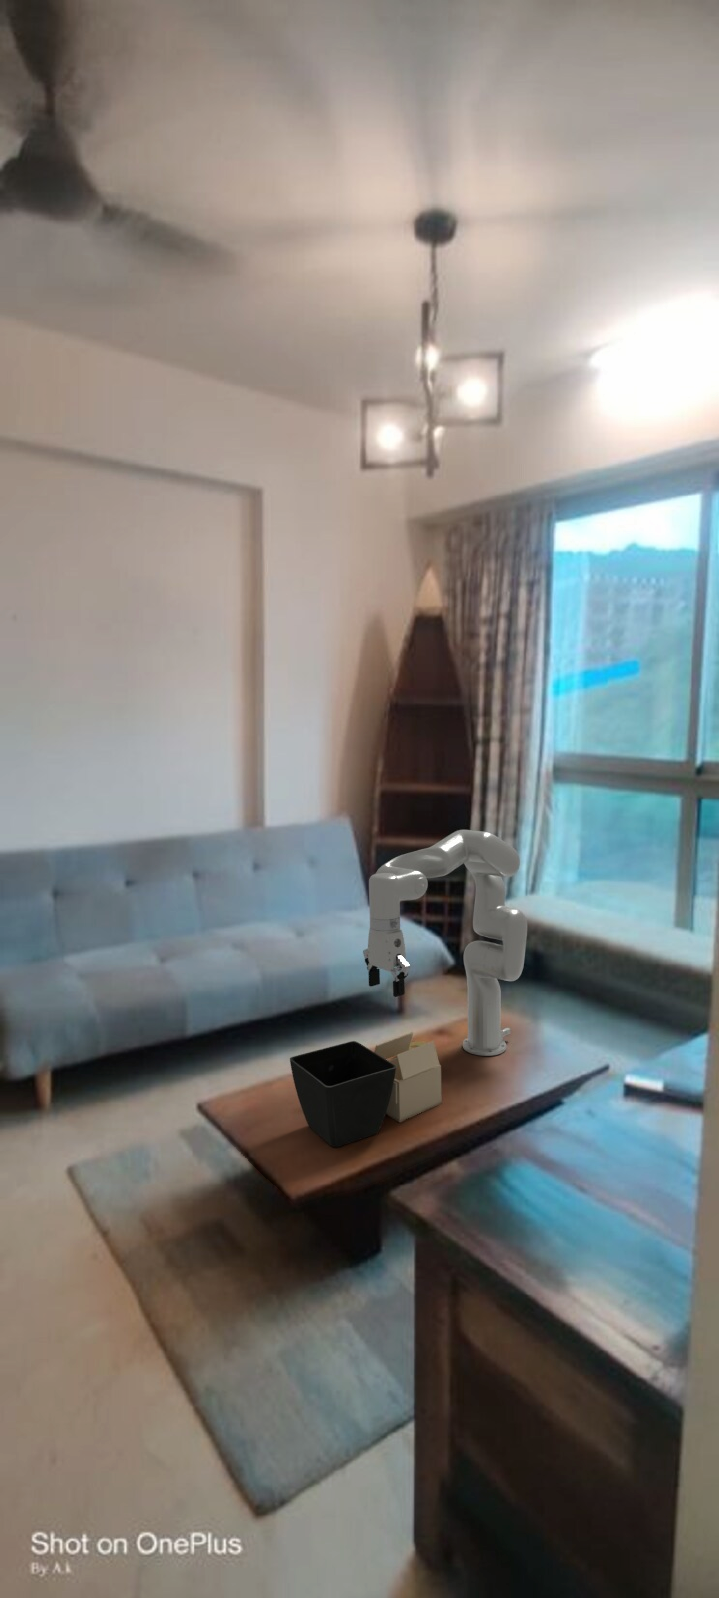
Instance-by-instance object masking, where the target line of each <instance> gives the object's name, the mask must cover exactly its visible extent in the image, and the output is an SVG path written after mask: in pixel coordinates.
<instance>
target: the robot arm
mask: <svg viewBox="0 0 719 1598" xmlns="http://www.w3.org/2000/svg"><path fill="white" fill-rule="evenodd" d="M462 865H464V866H465V869H467V871H469V873H470V874H471V876H472V878H473V881H474V884H475V895H474V897H475V898H474V907H473V914H472V928H473V931H474V933H476V934H477V935H479V936H482V937H485V938H489V939H495V940H499V941H502V944H498V943H495V942H491V941H485V940H474V941H471V942H469V943H468V944H467V945H466V946H465V948H464V952H463V965H464V970H465V975H466V982H467V986H466V987H467V1038H465V1039H464V1040H462V1048H463V1049H464V1051H465V1052H468V1053H469V1054H472V1055H476V1056H483V1057H490V1056H497V1055H501V1054H503V1053H504V1052H506V1050H507V1043H506V1041H505V1040H504V1039H503V1038H504V1037H505V1036H507V1035H510V1034H511V1033H512V1030H511V1028H510V1027H505V1028H503V1029H502V1028H501V1027H502V1025H501V1024H502V1023H501V1021H502V1020H501V1019H502V1018H501V1017H502V1014H501V1013H502V1012H501V1008H502V1006H501V1003H502V1001H501V999H502V998H501V995H502V992H501V986H500V982H499V981H498V980H502V981H507V982H514V981H516V980H518V979H519V978H520V977H521V975H522V972H523V969H524V964H525V958H526V957H525V956H526V946H527V939H528V938H527V937H528V921H527V917H526V915H525V914H524V912H522V911H521V910H520V909H517V908H514V907H508V906H506V905H505V901H506V885H505V882H504V880H503V878H511V877H513V876H514V875H515V874H517V873H518V870H519V869H520V866H521V859H520V855H519V853H518V851H517V849H515V848H514V847H513V846H511V845H510V844H508V842H505V841H504V840H503V839H501V838H500V837H498V836H497V835H495V834H493V833H492V832H491V833H490V832H488V831H481V830H470V829H459V830H458V829H457V830H456V831H454V832H452V833H450V834H449V835H447V836H445V837H444V838H443V839H441V840H439V841H438V842H436V843H434V845H431V846H430V847H426V848H422V849H418V850H415V851H411V852H408V853H405V854H401V855H398V856H396V857H394V858H392V859H391V860H389V861H387V862H385V863H384V864H382V865H381V866H380V867H379V868H378V869H377V871H376V872H375V873H374V874H372V875H371V876H370V877H369V880H368V895H369V900H368V902H369V929H368V938H367V948H366V949H363V950H362V954H363V957H364V962H365V964H366V970H367V971H368V972H367V973H368V986H369V987H374V986H378V985H380V984H381V977H380V976H381V975H380V974H381V972H380V971H381V970H383V971H386V972H389V973H391V975H392V978H393V979H394V980H393V981H392V996H393V997H394V998H397V997H401V996H404V995H405V993H406V992H405V990H406V989H405V988H406V987H405V980H406V979H407V976H408V975H409V973H410V970H411V965H410V964H409V962H408V961H407V956H406V955H407V954H406V946H405V945H406V944H405V937H404V933H403V930H402V929H401V902H403V901H414V900H417V899H420V898H422V897H423V896H425V894H426V891H427V889H428V879H431V878H432V879H433V878H439V877H445V876H446V875H448V874H450V873H452V872H453V871H454V870H455V869H457V868H459V867H460V866H462ZM380 969H381V970H380ZM397 972H398V973H397Z"/></svg>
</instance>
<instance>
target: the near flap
mask: <svg viewBox="0 0 719 1598" xmlns="http://www.w3.org/2000/svg"><path fill="white" fill-rule="evenodd" d="M426 1043H427V1044H424V1045H421V1046H419V1047H416V1048H413V1049H411V1050H408V1051H406V1052H403V1053H400V1054H398V1055H396V1056H395V1057H397V1061H398V1065H399V1069H400V1073H401V1077H402V1080H403V1079H406V1078H408V1077H411V1076H413V1075H415V1074H418V1073H420V1072H423V1071H425V1070H428V1069H430V1068H432V1067H435V1066H437V1065H441V1064H440V1061H439V1057H438V1052H437V1049H436V1045H435V1041H434V1040H431V1041H429V1042H426Z"/></svg>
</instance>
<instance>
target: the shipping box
mask: <svg viewBox="0 0 719 1598" xmlns="http://www.w3.org/2000/svg"><path fill="white" fill-rule="evenodd" d="M388 1061H389V1062H391V1063H392V1064H394V1065H395V1066H396V1072H395V1079H394V1084H393V1089H392V1093H391V1097H390V1101H389V1104H388V1108H387V1111H386V1114H385V1116H387V1117H389V1118H391V1119H393V1120H395V1121H396V1122H399V1123H402V1122H404V1121H407V1120H409V1119H410V1118H411V1119H412V1118H413V1117H415V1116H417V1114H418V1115H420V1114H422V1113H423V1112H426V1111H428V1110H430V1108H431V1109H433V1108H435V1107H437V1106H440V1105H441V1104H442V1065H441V1064H440V1065H437V1066H435V1067H432V1068H430V1069H428V1070H425V1071H423V1072H420V1073H418V1074H415V1075H413V1076H411V1077H408V1078H406V1079H403V1080H402V1077H401V1073H400V1069H399V1065H398V1061H397V1056H395V1057H393V1058H390V1059H388ZM421 1112H422V1113H421ZM419 1113H420V1114H419ZM408 1118H409V1119H408ZM406 1119H407V1120H406Z"/></svg>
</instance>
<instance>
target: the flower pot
mask: <svg viewBox="0 0 719 1598" xmlns="http://www.w3.org/2000/svg"><path fill="white" fill-rule="evenodd" d="M388 1060H389V1059H388ZM388 1060H387V1059H384V1058H383V1057H381V1056H379V1055H378V1054H376V1053H374V1051H372V1050H371V1049H370V1048H368V1047H367V1046H365V1045H363V1044H361V1043H360V1042H358V1041H355V1040H352V1041H348V1042H344V1043H340V1044H336V1045H332V1046H329V1047H324V1048H321V1049H318V1050H313V1051H309V1052H306V1053H302V1054H301V1053H300V1054H298V1055H294V1056H291V1057H290V1058H289V1063H290V1070H291V1074H292V1079H293V1083H294V1086H295V1088H294V1089H295V1091H296V1095H297V1098H298V1102H299V1104H300V1108H301V1110H302V1113H303V1115H304V1118H305V1121H306V1124H307V1125H308V1127H309V1128H310V1129H311V1130H312V1131H313V1132H314V1133H316V1135H318V1136H319V1137H321V1139H322V1140H323V1141H325V1142H326V1144H329V1146H330V1147H332V1148H338V1147H339V1148H340V1147H342V1146H344V1145H348V1144H351V1143H354V1142H356V1141H359V1140H362V1139H365V1138H367V1137H370V1136H371V1137H372V1136H374V1135H377V1134H378V1133H379V1132H380V1130H381V1127H382V1125H383V1122H384V1119H385V1117H386V1111H387V1108H388V1104H389V1101H390V1097H391V1093H392V1089H393V1084H394V1079H395V1072H396V1066H395V1065H394V1064H392V1063H391V1062H389V1061H388Z"/></svg>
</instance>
